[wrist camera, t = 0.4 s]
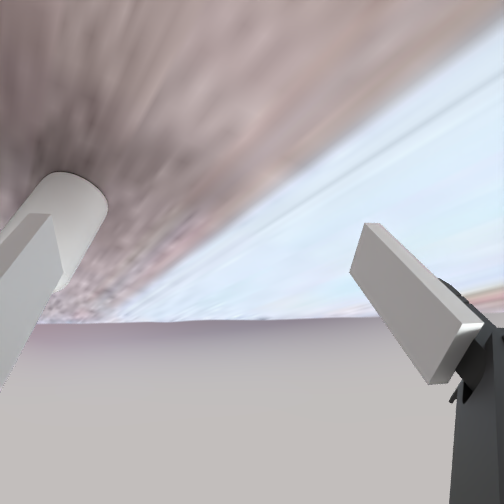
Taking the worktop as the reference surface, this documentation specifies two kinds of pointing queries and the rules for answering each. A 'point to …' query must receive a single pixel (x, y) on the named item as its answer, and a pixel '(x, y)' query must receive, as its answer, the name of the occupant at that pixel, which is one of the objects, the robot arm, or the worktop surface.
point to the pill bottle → (65, 216)
